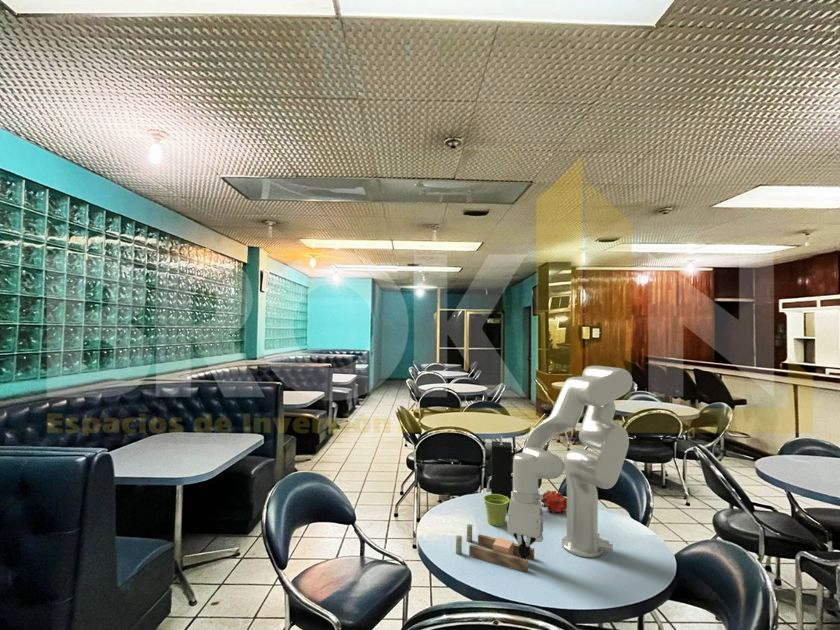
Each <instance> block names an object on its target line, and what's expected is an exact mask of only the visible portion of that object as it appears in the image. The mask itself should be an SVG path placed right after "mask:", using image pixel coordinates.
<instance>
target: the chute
mask: <svg viewBox="0 0 840 630" xmlns="http://www.w3.org/2000/svg"><path fill="white" fill-rule="evenodd" d="M496 539H497V538H496V537H495V538H494V537H491V536H488V535H484V534H480V533H479V534H478V535H477V545H474V544H469V546H468V557H472V558H475V559H479V560H482V561H486V562H489V563H493V564H495V565H500V566H503V567H506V568H510V569H514V570H516V571H521V572H524V573H528V571H529V560H532V561H534V560H535V548H533V547H530V556H528V557H527V559H524V558H523V559H522V558H521V554H519V544H518V543H514V544H513V556H511V555H508V554H504V553H500V552H497V551H493V544H494V542H495V541H496ZM466 542H468V543H472V542H473V525H472V524H466ZM462 544H463V537H462V535H456V536H455V554H457V555H462V551H463V545H462Z"/></svg>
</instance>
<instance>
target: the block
mask: <svg viewBox="0 0 840 630" xmlns="http://www.w3.org/2000/svg"><path fill="white" fill-rule="evenodd" d="M513 544H514V540H510V539H506V538H503V537H497V538H496V541H495V542H494V544H493V549H492V550H493V551H497V552H500V553H504V554H508V555H511V556H514V555H513Z"/></svg>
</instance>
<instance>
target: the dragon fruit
mask: <svg viewBox="0 0 840 630" xmlns="http://www.w3.org/2000/svg"><path fill="white" fill-rule="evenodd" d="M542 495H543V500H541V499H540V501H541V505H542V508H543V509H544V508H547V511H549V512H550V511H551V513H553V514H555V513H556V512H557V513H560V514H565V513H566V511H567V497H565V496H563V494H562V493H561V492H560V491H558V492H557V491H556V490H552V491H550V490H546V491H545V492H544V493H543V494H542Z"/></svg>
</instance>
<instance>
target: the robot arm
mask: <svg viewBox="0 0 840 630" xmlns="http://www.w3.org/2000/svg"><path fill="white" fill-rule="evenodd" d="M581 375H582V376H571V377H568V378H567V379H566V380H564V383H563V385H562V386H561V389H560V391H559V394H558V396H557V398H556V400H555V403H554V406H553V408H552V410H551V413H550V414H549V416H548V417H547V418H546V419H543V421H541V422H540V423H539V424H538V425H537V426H536V427H535V428H533V429H532V431H531V432H530V433H529V434H528V436H527V439H526V441H525V443H524V446H523V448H522V452H517V453H515V454H514V456H513V457H512V495H511V499H510V504H509V510H508V511H507V524H506V525H507V530H506V533H507V534H508V535H510V536H512V537H514V539H515V540H516V541H517V544H519V554H521V557H520V558H522V559H526V560H528V559H527V557H528V556H530V548H531V545H533V544H534V543H535V542H536V543H542V542H543V540H544V537H543V536H544V535H543V532H544V515H543V514H544V513H543V506H542V502H541V500H543V494H541V493H540V491H539V480H540V479H543V480H554V479H558V478H560V477H561V476H562V475H563V473H564V474H565V482H566V498H567V509H566V535H565V536H563V537H562V539H561V547H563V549H564V550H566V551H567V552H569V553H570V554H572V555H575V556H578V557H583V558H597V557H599V556H601V555H602V554H603V553H604V550H607V551H611V552H613V549H614V545H613V543H610V541H609V540H606V539H602V538H601V537H600V536H601V535H600V532H599V531H598V529H599V527H598V525H599V523H598V522H599V521H598V520H599V519H598V518H599V511H598V510H599V506H598V505H599V495H598V489H597V488H600V489H604V490H609V489H611V488H613V487H614V486H615V485H616V483H617V481H618V479H619V478H620V475H621V471H622V468H623V465H624V463H625V459H626V456H627V453H628V450H629V445H630V438H629V434H628V431H627V430H626V428H624V427H623V426H622V425H620V424H617V423H613V420H614V418H615V414H616V413H615V412H616V405H615V400H617V399H619V398H621V397H623V396H625V395H626V394H627V393H629V391H630V390H631V388H632V386H633V377H632V374H631V373H630V372H629V371H628V370H626V369H625V368H621V367H612V366H604V365H589V366H586V367H585V368H584V369H583V371H582V374H581ZM585 406H587V408H586V410H585V411H586V412H585V414H584V417H583V419H582V423H581V425H580V428H579V430H578V439H579V442H581V444H583V445H584V446H586V447H589V448H592V449H594V450H597V451H600V453H596V452H593V451H590V450H588V449H585V448H580V447H574V448H570V449H568V450H567V451H566V453H565V455H564V457H563V459H562V458H561V457H560V456H558V455H557V454H555V453H553V452H551V451H547V450H545V449H544V448H545V446H546V444H547V443H548V442H549V440H551V439H552V438H553V437H555V436H558V435H560V434H563V433H567V432H570V431H573V430H575V429H576V428H577V425H578V424H579V423H578V422H579V421H580V418H581V415H582V413H583V412H584V411H583V410H584V409H585ZM540 499H541V500H540ZM598 532H599V533H598ZM524 536H525V537H526V540H525V537H524Z"/></svg>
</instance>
